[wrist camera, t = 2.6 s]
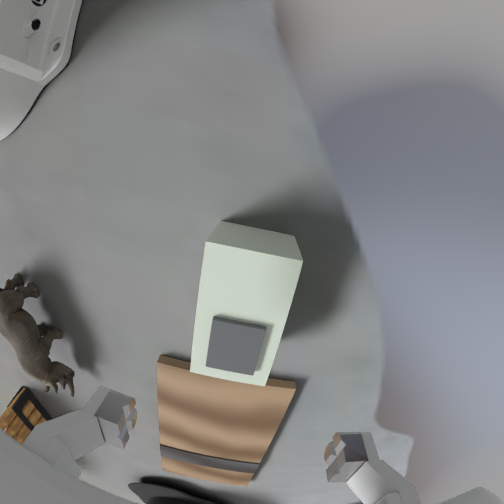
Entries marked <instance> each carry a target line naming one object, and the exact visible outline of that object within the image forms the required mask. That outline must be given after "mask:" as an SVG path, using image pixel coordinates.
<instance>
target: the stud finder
mask: <svg viewBox="0 0 504 504" xmlns="http://www.w3.org/2000/svg"><path fill="white" fill-rule="evenodd" d="M302 264H303V259H302V256H301V253H300V250H299V247H298V244H297V241H296V239H295V236H293V235H288V234H283V233H279V232H274V231H269V230H264V229H259V228H254V227H249V226H244V225H239V224H234V223H229V222H224V221H220V222H219V224H218V225H217V227H216V228H215V229H214V231H213V232H212V234H211V235H210V236H209V238H208V239H207V241H206V244H205V251H204V257H203V264H202V272H201V279H200V286H199V294H198V302H197V310H196V318H195V327H194V336H193V345H192V355H191V366H190V372H193V373H197V374H201V375H206V376H210V377H215V378H220V379H225V380H230V381H235V382H241V383H247V384H253V385H259V386H265V385H266V382H267V379H268V376H269V373H270V370H271V367H272V364H273V361H274V358H275V355H276V352H277V349H278V345H279V342H280V339H281V336H282V333H283V330H284V326H285V323H286V320H287V316H288V313H289V310H290V306H291V303H292V300H293V296H294V293H295V289H296V286H297V282H298V279H299V275H300V272H301V268H302Z"/></svg>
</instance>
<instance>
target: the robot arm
mask: <svg viewBox="0 0 504 504" xmlns="http://www.w3.org/2000/svg"><path fill="white" fill-rule="evenodd" d="M81 3H82V0H0V140H2V139H4V138H5V137H7V136H8V135H9V134H10V133H12V132H13V131H14V130H15V128H16V127H17V126H18V125H19V124H20V123H21V121H22V120H23V119H24V117H25V116H26V114H27V113H28V111H29V110H30V108H31V106H32V105H33V103H34V101H35V100H36V98H37V96H38V95H39V93H40V92H41V90H42V89H43V87H44V86H45V85H46V84H47V83H49V82H50V81H51V80H52V79H53V78H54V77H55V76H56V75H57V74H59V73H60V72H61V71H62V69H63V68H64V67H65V66H66V64H67V63H68V61H69V58H70V54H71V48H72V42H73V37H74V32H75V28H76V23H77V19H78V15H79V11H80V7H81ZM135 404H136V402H135V398H132V397H130V396H127V395H124V394H122V393H119V392H117V391H114V390H112V389H109V388H107V387H104V386H102V385H101V386H100V387H98V388H97V390H96V391H95V393H94V394H93V396H92V397H91V399H90V400H89V401H88V403H87V404H86V406H85V407H84V409H83V410H80V409H79V410H76V411H73V412H71V413H68V414H65V415H63V416H60V417H57V418H55V419H52V420H49V421H46V422H43V423H40V424H38V425H36V426H35V427H34V429H33V430H32V431H31V433H30V434H29V435H28V437H27V438H26V440H25V441H24V442H23V444H20V443H19V442H18V441H16V440H15V439H14V438H12V437H11V436H10V435H8V434H7V433H6V432H4V431H3V430H2V429H1V428H0V504H138V503H135V502H132V501H129V500H127V499H124V498H121V497H119V496H116V495H114V494H111V493H109V492H107V491H104V490H102V489H100V488H97V487H95V486H93V485H91V484H89V483H87V482H85V481H82V480H80V479H78V478H79V476H80V474H81V471H80V469H79V467H78V465H77V464H76V462H75V460H77V459H78V458H80V457H82V456H84V455H85V454H87V453H89V452H91V451H92V450H94V449H96V448H98V447H99V446H101V445H103V444H104V443H105V442H107V443H109V444H112V445H115V446H117V447H120V448H123V449H124V448H125V445H126V443H127V441H128V439H129V434H128V432H129V431H131V430H133V428H134V426H135V423H136V419H137V410H136V409H135V408H134V406H135ZM324 458H325V463H326V464H327V465H328V466H329V467H328V468H327V470H326V472H327V479H328V482H346V483H347V485H348V486H349V487H350V488H351V489H352V491H353V492H354V493H355V494H356V495H357V496H358V498H359V499H360V500H361V501H362V502H363V503H364V504H421V501H420V498H419V495H418V492H417V489H416V487H415V486H414V485H413V484H411V483H410V482H409V481H408V480H406V479H405V478H404V477H403V476H401V475H400V474H399V473H398V472H397V471H395V470H394V469H393V468H392V467H391V466H389V465H388V464H387V463H386V462H385V461H383V460H380V459H379V456H378V453H377V449H376V446H375V443H374V440H373V437H372V434H371V433H370V432H337V433H336V434H335V435H334V436H333V441H332V442H330V443H329V444H328V445H327V447H326V450H325V456H324ZM437 504H503V503H502V501H501V499H500V498H499V497H498V496H497V495H495V494H494V493H492V492H490V491H489V490H487V489H485V488H483V487H477V488H474V489H472V490H470V491H468V492H465V493H463V494H461V495H458V496H456V497H453V498H451V499H448V500H446V501H443V502H440V503H437Z"/></svg>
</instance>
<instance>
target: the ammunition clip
mask: <svg viewBox="0 0 504 504" xmlns="http://www.w3.org/2000/svg"><path fill="white" fill-rule="evenodd" d="M49 420H52V418H51V417H50V415H49V414H48V413H47V412H46V411H45V409H44V408H43V407H42V406H41V404H40V403H39V402H38V400H37V399H36V398H35V397H34V395H33V394H32V393H31V391H30V390H29V388H27V387H21V388H20V389H19V391H18V392H17V394H16V395H15V396H14V398H13V399H12V401H11V402H10V403H9V405H8V406H7V409H6V410H5V412H4V413H3V414H2V416H1V417H0V428H1V429H2V430H4V429H5V428H6V427H7V429H6V431H5V432H6V433H7V434H8V435H10V436H11V437H13V436H14V435H15V436H14V439H15V440H16V441H18V442H19V443H20V444H21V443H22V444H23V442H24V441H25V440H26V438H27V437H28V435H29V434H30V433H31V431H32V430H33V429H34V427H35V426H36V425H38V424H40V423H43V422H46V421H49Z"/></svg>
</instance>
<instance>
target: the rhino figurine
mask: <svg viewBox="0 0 504 504" xmlns="http://www.w3.org/2000/svg"><path fill="white" fill-rule="evenodd" d="M15 287H17V289H16V290H14V289H15ZM38 296H39V292H38V288H37V287H36V286H35V285H34V284H32V283H28V285H27V287H24V286H23V281H22V280H21V278H20V277H19V275H17V274H15V275H14V278H13V279H12V280H9V279H8V280H7V281H6V285H5V288H4V289H1V288H0V333H1V334H2V335H3V336H4V337H5V338H6V339H7V340H8V341H9V343H10V344H11V345H12V347H13V349H14V351H15V353H16V355H17V358H18V361H19V363H20V365H21V367H22V369H23V370H24V371H25V372H26V373H27V374H28V375H30V376H31V377H33V378H35V379H37V380H39V381H41V382H42V383H44V386H43V388H44V392H48V391H49V389H50V386H51V387H52V388H53V389H54V391H55V392H56V394H57V390H58V386H57V384H56V383H57V382H59V383H60V384H61V386H62V387H63V389H65V386H66V384H67V385H68V387H69V389H70V391H71V396H72V397H73V396H74V385H73V376H74V371H73V370H72V369H71V368H69V367H67V366H66V365H64V364H62V363H60V362H57V361H55V362H51V360H50V358H49V357H48V355H49V354H50V352H49V350H50V348H51V345H52V341H53V339H61V338H62V334H61V331H60V330H58V329H57V328H56V327H52V328H51V329H50V331H49V332H48V331H47V329H46V328H45V327H44V326H42V325H37V324H36V322H35V320H34V318H33V317H32V316H31V315H30V314H29V313H28V312H27V311H25V310H24V309H22V306H23V303H24V299H25V298H27V297H34V298H38ZM42 336H43V337H42Z"/></svg>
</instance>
